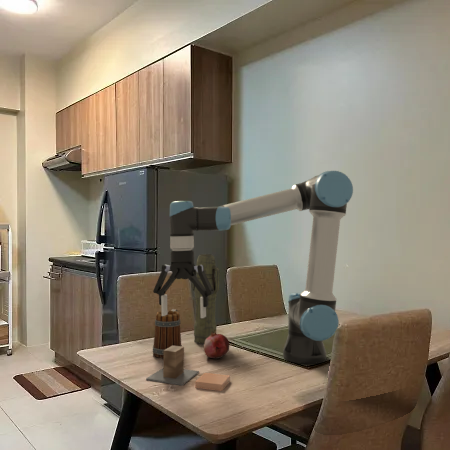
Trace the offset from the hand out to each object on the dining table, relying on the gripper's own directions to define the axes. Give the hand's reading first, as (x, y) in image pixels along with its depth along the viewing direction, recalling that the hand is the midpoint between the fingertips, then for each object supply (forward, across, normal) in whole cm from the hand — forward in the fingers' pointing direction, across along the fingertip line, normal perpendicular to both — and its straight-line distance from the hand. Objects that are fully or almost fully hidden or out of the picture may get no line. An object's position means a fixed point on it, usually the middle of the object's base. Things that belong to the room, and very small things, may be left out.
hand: (183, 316), depth 138 cm
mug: (+18, +14, -17) cm, 28 cm away
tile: (+17, -12, +3) cm, 21 cm away
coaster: (+17, +1, +5) cm, 18 cm away
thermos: (+18, +8, -36) cm, 41 cm away
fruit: (+18, -4, -18) cm, 25 cm away
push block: (+17, +1, +5) cm, 18 cm away
